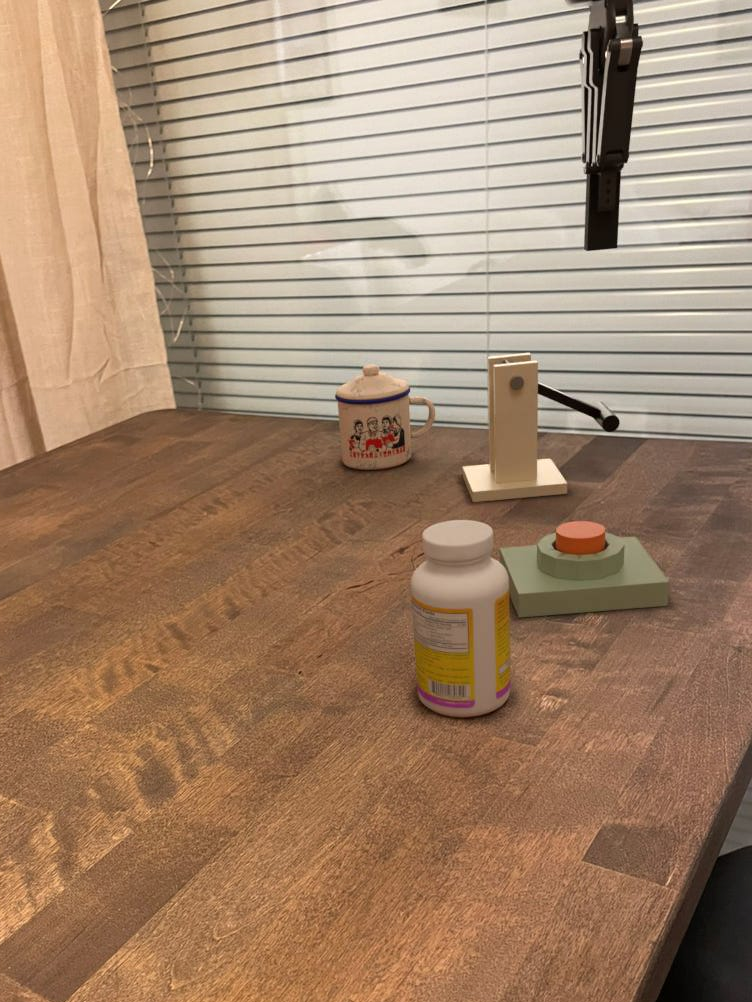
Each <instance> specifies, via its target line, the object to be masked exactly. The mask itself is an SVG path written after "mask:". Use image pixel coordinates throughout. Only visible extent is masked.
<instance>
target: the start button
mask: <svg viewBox="0 0 752 1002" xmlns="http://www.w3.org/2000/svg"><path fill="white" fill-rule="evenodd" d="M606 532H607V529H606V527H605V526H604V525H602V524H601V523H597V522H594V521H587V520H575V521H569V522H564V523H562V524H560V525H558V526H557V527H556V529H555V533H556V550H557V551H559V552H562V553H564V554H573V555H587V554H596V553H599V552H601V551H604V550H605V533H606Z"/></svg>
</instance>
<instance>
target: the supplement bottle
mask: <svg viewBox="0 0 752 1002" xmlns="http://www.w3.org/2000/svg"><path fill="white" fill-rule="evenodd" d="M421 535H422V536H421V537H422V539H421V540H422V543H421V544H422V548H421V549H422V553H423V554H424V556H425V558H426V560H425V561H423V562H422V563H420V564H419V565H418V566H417V568H416V569H414V572H413V573H412V576H411V579H410V596H411V597H410V598H411V611H412V626H413V627H412V628H413V629H412V630H413V644H414V645H413V646H414V660H415V675H416V677H415V678H416V689H417V695H418V698H419V700H420V702H421V703H422V704H423V705H424V706H425V707H427V708H428V709H430V710H431V711H433V712H435V713H437V714H440V715H443V716H447V717H455V718H470V717H471V718H472V717H478V716H482V715H486V714H489V713H492V712H494V711H495V710H498V709H499V708H501V707H502V706H503V705H504V704H505V703H506V702H507V701H508V699H509V696H510V694H511V633H510V631H511V627H510V594H509V577H508V573H507V571H506V569H505V568H504V566H503V565H502V564H501V563H500V561H498V560H496V559H495V558H493V557H492V556H491V554H492V552H493V549H494V546H495V543H494V530H493V528H492V527H491V525H489V524H487V523H484V522H482V521H477V520H470V519H454V520H453V519H452V520H446V521H442V522H441V521H440V522H438V523H434V524H432V525H430V526H428V527H427V528H425V529H424V530H423V532H422V534H421Z"/></svg>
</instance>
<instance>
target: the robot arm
mask: <svg viewBox="0 0 752 1002" xmlns="http://www.w3.org/2000/svg"><path fill="white" fill-rule="evenodd" d="M633 1H634V0H564V3H565V4H566V5H567V6H568V7H570V8H584V7H588V8H589V15H588V16H589V17H588V24H587V25H588V26H587V30H583V31H582V33H581V48H580V50H579V53H578V60H579V66H580V67H579V68H580V80H581V81H580V84H581V89H580V90H581V91H580V92H581V95H580V96H581V154H580V155H581V156H580V159H581V162H582V165H583V164H584V166H583V167H582V168H583V170H582V171H583V175H586V181H585V182H586V184H585V209H584V210H585V211H584V238H583V239H584V240H583V241H584V242H583V243H584V244H583V250H584V251H586V252H591V251H592V252H593V251H594V252H595V251H600V250H601V251H602V250H603V251H604V250H612V249H618V241H619V239H618V238H619V220H620V219H619V218H620V200H621V179H622V170H623V169H624V167H625V164H628V162H629V159H630V145H631V136H632V135H631V134H632V126H633V116H634V106H635V98H636V97H635V96H636V88H637V80H638V79H637V78H638V69H639V64H640V58H641V53H642V48H643V46H644V40H643V37H642V35H639V31H640V30H639V29H640V27H639V23H637V22H636V23H635V15H634V12H635V11H634V2H633Z"/></svg>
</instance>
